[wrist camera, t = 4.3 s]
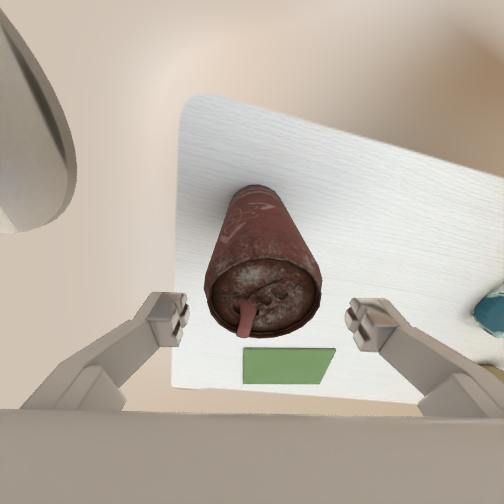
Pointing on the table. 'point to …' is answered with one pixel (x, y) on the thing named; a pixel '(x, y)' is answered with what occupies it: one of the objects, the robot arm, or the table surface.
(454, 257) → the table surface
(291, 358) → the felt cloth
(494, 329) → the sunglasses
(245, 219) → the can
